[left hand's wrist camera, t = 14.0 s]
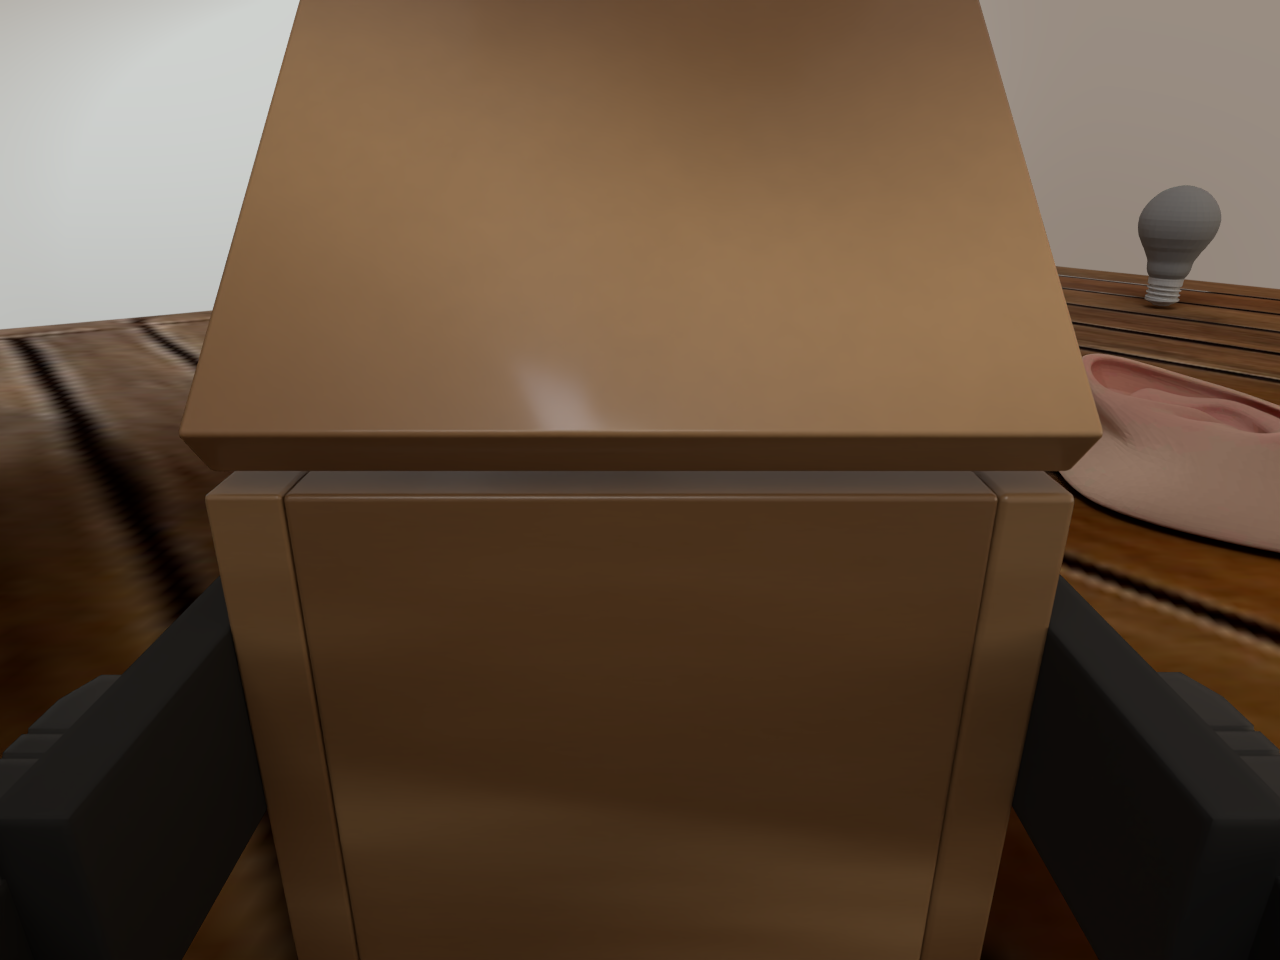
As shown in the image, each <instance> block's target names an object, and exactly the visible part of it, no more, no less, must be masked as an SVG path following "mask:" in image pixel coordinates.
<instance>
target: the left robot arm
mask: <svg viewBox="0 0 1280 960" xmlns="http://www.w3.org/2000/svg"><path fill="white" fill-rule="evenodd" d="M1012 807H1013V808H1014V810H1015V812H1016V814H1017V815H1018V817H1019V819H1020V821H1021V823H1022V824H1023V826H1024V828H1025V830H1026V831H1027V833H1028V835H1029V837H1030V838H1031V840H1032V842H1033V844H1034V846H1035V847H1036V849H1037V851H1038V853H1039V854H1040V856H1041V858H1042V860H1043V861H1044V863H1045V865H1046V867H1047V868H1048V870H1049V872H1050V874H1051V876H1052V877H1053V879H1054V881H1055V883H1056V884H1057V886H1058V888H1059V890H1060V891H1061V893H1062V895H1063V897H1064V899H1065V900H1066V902H1067V904H1068V906H1069V907H1070V909H1071V911H1072V913H1073V914H1074V916H1075V918H1076V920H1077V922H1078V923H1079V925H1080V927H1081V929H1082V930H1083V932H1084V934H1085V936H1086V937H1087V939H1088V941H1089V943H1090V944H1091V946H1092V948H1093V950H1094V952H1095V953H1096V955H1097V957H1098V959H1099V960H1280V753H1279V749H1278V748H1277V747H1276V746H1275V745H1274V744H1273V743H1272V742H1270V741H1269V740H1268V739H1267V738H1266V737H1265V736H1264V735H1263V734H1262V733H1261V732H1260V731H1254V726H1253V725H1252V724H1251V723H1250V722H1249V721H1248V720H1247V719H1246V718H1245V717H1244V716H1243V715H1242V714H1241V713H1240V712H1239V711H1237V710H1236V709H1235V708H1234V707H1233V706H1232V705H1231V704H1230V703H1229V702H1228V701H1227V700H1226V699H1225V698H1224V697H1222V696H1221V695H1219V694H1217V693H1215V692H1214V691H1212V690H1210V689H1208V688H1207V687H1205V686H1203V685H1201V684H1200V683H1198V682H1196V681H1195V680H1193V679H1191V678H1189V677H1188V676H1186V675H1184V674H1182V673H1181V672H1156V671H1155V670H1154V669H1153V668H1152V667H1151V666H1150V665H1149V664H1148V663H1147V662H1146V661H1145V660H1144V659H1143V658H1142V657H1141V656H1140V655H1139V654H1138V653H1137V652H1136V651H1135V650H1134V649H1133V648H1132V647H1131V646H1130V645H1129V644H1128V643H1127V642H1126V641H1125V640H1124V639H1123V638H1122V637H1121V636H1120V635H1119V634H1118V633H1117V632H1116V631H1115V630H1114V629H1113V628H1112V627H1111V626H1110V625H1109V624H1108V623H1107V622H1106V621H1105V620H1104V619H1103V618H1102V617H1101V616H1100V615H1099V614H1098V613H1097V612H1096V611H1095V610H1094V609H1093V607H1092V606H1091V605H1090V604H1089V603H1088V602H1087V601H1086V600H1085V599H1084V598H1083V597H1082V596H1081V595H1080V594H1079V593H1078V592H1077V591H1076V590H1075V589H1074V588H1073V587H1072V586H1071V585H1070V584H1069V583H1068V582H1067V581H1066V580H1065V579H1064V578H1063V577H1062V576H1061V575H1060V574H1059V579H1058V584H1057V589H1056V593H1055V598H1054V603H1053V608H1052V613H1051V618H1050V623H1049V627H1048V632H1047V637H1046V642H1045V647H1044V652H1043V656H1042V661H1041V666H1040V671H1039V676H1038V681H1037V685H1036V690H1035V695H1034V700H1033V705H1032V710H1031V714H1030V719H1029V724H1028V729H1027V734H1026V739H1025V743H1024V748H1023V753H1022V758H1021V763H1020V768H1019V772H1018V777H1017V782H1016V787H1015V792H1014V797H1013V802H1012ZM266 810H267V804H266V799H265V794H264V789H263V784H262V779H261V775H260V770H259V765H258V760H257V755H256V750H255V745H254V740H253V735H252V730H251V725H250V720H249V715H248V710H247V705H246V700H245V696H244V691H243V686H242V681H241V676H240V671H239V666H238V661H237V656H236V651H235V646H234V641H233V636H232V631H231V626H230V622H229V617H228V612H227V607H226V602H225V597H224V592H223V587H222V582H221V577H220V576H219V577H218V578H217V579H216V580H215V581H214V582H213V583H212V584H211V585H210V586H209V587H208V588H207V589H206V590H205V591H204V592H203V593H202V594H201V595H200V596H199V597H198V598H197V599H196V600H195V601H194V602H193V603H192V604H191V605H190V606H189V607H188V608H187V609H186V610H185V611H184V612H183V613H182V614H181V615H180V616H179V617H178V618H177V619H176V620H175V621H174V622H173V623H172V625H171V626H170V627H169V628H168V629H167V630H166V631H165V632H164V633H163V634H162V635H161V636H160V637H159V638H158V639H157V640H156V641H155V642H154V643H153V644H152V645H151V646H150V647H149V648H148V649H147V650H146V651H145V652H144V653H143V654H142V655H141V656H140V657H139V658H138V659H137V660H136V661H135V662H134V663H133V664H132V665H131V666H130V667H129V668H128V669H127V670H126V671H125V672H124V673H123V674H122V675H100V676H99V677H97V678H95V679H94V680H92V681H90V682H88V683H87V684H85V685H83V686H81V687H80V688H78V689H76V690H75V691H73V692H71V693H69V694H68V695H66V696H64V697H62V698H61V699H59V700H58V701H57V702H56V703H55V704H54V705H53V706H52V707H51V708H49V709H48V710H47V711H46V712H45V713H44V714H43V715H42V716H41V717H40V718H39V719H38V720H37V721H36V722H35V723H34V724H33V725H31V726H30V727H29V728H28V734H22V735H21V736H20V737H19V738H18V739H17V740H16V741H15V742H14V743H12V744H11V745H10V746H9V747H8V748H7V749H6V750H5V751H4V752H3V756H2V759H0V960H182V958H183V956H184V955H185V953H186V951H187V949H188V948H189V946H190V944H191V942H192V941H193V939H194V937H195V935H196V933H197V932H198V930H199V928H200V926H201V925H202V923H203V921H204V919H205V918H206V916H207V914H208V912H209V910H210V909H211V907H212V905H213V903H214V902H215V900H216V898H217V896H218V895H219V893H220V891H221V889H222V887H223V886H224V884H225V882H226V880H227V879H228V877H229V875H230V873H231V872H232V870H233V868H234V866H235V865H236V863H237V861H238V859H239V857H240V856H241V854H242V852H243V850H244V849H245V847H246V845H247V843H248V842H249V840H250V838H251V836H252V834H253V833H254V831H255V829H256V827H257V826H258V824H259V822H260V820H261V819H262V817H263V815H264V813H265V811H266Z"/></svg>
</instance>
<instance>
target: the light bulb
mask: <svg viewBox="0 0 1280 960" xmlns="http://www.w3.org/2000/svg"><path fill="white" fill-rule="evenodd" d="M1220 222H1221V212H1220V208H1219V206H1218V204H1217V202H1216V200H1215V199H1214V198H1213V196H1212V195H1211V194H1210V193H1208V192H1207V191H1205V190H1203V189H1201V188H1198V187H1194V186H1178V187H1173V188H1170V189H1167V190H1165V191H1163V192H1161V193H1160V194H1158V195H1157V196H1156V197H1154V198H1153V199H1152V200H1151V201H1150V202H1149V203H1148V204H1147V205H1146V207H1145V208H1144V209H1143V211H1142V213H1141V215H1140V217H1139V223H1138V233H1139V237H1140V240H1141V243H1142V245H1143V247H1144V250H1145V253H1146V256H1147V261H1148V262H1147V272H1148V275H1149V280H1148V283H1149V284H1150V285H1148V286H1147V287H1148V288H1149V289H1148V290H1146V292H1148V294H1146V295H1145V299H1146V300H1147V301H1149V302H1151V303H1152V304H1153V305H1157V306H1168V305H1171V304H1173V303H1176V302H1178V301H1179V299H1178V296H1180V295H1178V293H1179V292H1180V291H1181V290H1179V289H1180V287H1182V285H1183V281H1184V278H1185V277H1186V276H1187V275H1188V274H1189V272H1190V270H1191V267H1192V264H1193V262H1194V261H1195V259H1196V258H1197V257H1198V256H1199V254H1200V253H1201V252H1202V251H1203V250H1204V249H1205V248H1206V247H1207V245H1208V244H1209V243H1210V242H1211V241H1212V240H1213V238H1214V237H1215V235H1216V233H1217V231H1218V229H1219V226H1220Z"/></svg>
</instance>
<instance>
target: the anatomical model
mask: <svg viewBox="0 0 1280 960" xmlns="http://www.w3.org/2000/svg"><path fill="white" fill-rule="evenodd" d="M1082 360H1083V363H1084V367H1085V370H1086V374H1087V377H1088V381H1089V384H1090V387H1091V391H1092V394H1093V398H1094V401H1095V405H1096V408H1097V412H1098V415H1099V419H1100V422H1101V426H1102V429H1103V435H1102V437H1101V439H1100V440H1099V441H1098V442H1097V443H1096V444H1095V445H1094V446H1093V447H1092V448H1091V449H1090V450H1089V451H1088V452H1087V453H1086V454H1085V455H1084V456H1083V457H1082V458H1081V459H1080V460H1079V461H1078V462H1077V463H1076V464H1075V465H1074V466H1073V467H1072V468H1071V469H1070V470H1067V471H1059V472H1060V474H1061V475H1062V476H1063V477H1064V479H1065V480H1066V481H1067V482H1068V483H1069V484H1070V485H1071V486H1072V487H1073V488H1074V489H1075V490H1077V491H1078V492H1079V493H1081V494H1082V495H1083V496H1085V497H1086V498H1088V499H1090V500H1091V501H1093V502H1095V503H1097V504H1099V505H1101V506H1104V507H1106V508H1109V509H1111V510H1114V511H1116V512H1119V513H1122V514H1124V515H1127V516H1130V517H1133V518H1136V519H1140V520H1143V521H1146V522H1149V523H1153V524H1156V525H1159V526H1163V527H1167V528H1171V529H1174V530H1178V531H1182V532H1186V533H1190V534H1194V535H1199V536H1203V537H1207V538H1211V539H1215V540H1220V541H1224V542H1229V543H1233V544H1238V545H1242V546H1247V547H1252V548H1257V549H1262V550H1268V551H1273V552H1279V553H1280V406H1278V405H1276V404H1273V403H1270V402H1267V401H1265V400H1262V399H1259V398H1256V397H1253V396H1250V395H1247V394H1244V393H1241V392H1238V391H1236V390H1232V389H1229V388H1226V387H1223V386H1219V385H1216V384H1212V383H1209V382H1205V381H1202V380H1199V379H1195V378H1192V377H1189V376H1185V375H1182V374H1179V373H1175V372H1172V371H1169V370H1165V369H1162V368H1159V367H1155V366H1152V365H1148V364H1145V363H1141V362H1137V361H1134V360H1130V359H1126V358H1122V357H1117V356H1112V355H1105V354H1089V355H1085V356H1083V357H1082Z"/></svg>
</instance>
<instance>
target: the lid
mask: <svg viewBox="0 0 1280 960" xmlns="http://www.w3.org/2000/svg"><path fill="white" fill-rule="evenodd" d="M1102 435H1103V429H1102V426H1101V422H1100V419H1099V415H1098V412H1097V408H1096V405H1095V401H1094V398H1093V394H1092V391H1091V387H1090V384H1089V381H1088V377H1087V374H1086V370H1085V367H1084V363H1083V360H1082V356H1081V353H1080V349H1079V346H1078V342H1077V339H1076V335H1075V332H1074V329H1073V325H1072V322H1071V318H1070V315H1069V311H1068V308H1067V304H1066V301H1065V297H1064V294H1063V290H1062V287H1061V283H1060V280H1059V277H1058V273H1057V270H1056V266H1055V263H1054V259H1053V256H1052V252H1051V249H1050V245H1049V242H1048V239H1047V235H1046V231H1045V228H1044V225H1043V221H1042V218H1041V214H1040V211H1039V207H1038V204H1037V200H1036V197H1035V193H1034V190H1033V186H1032V183H1031V179H1030V176H1029V173H1028V169H1027V166H1026V162H1025V159H1024V155H1023V152H1022V148H1021V145H1020V142H1019V138H1018V134H1017V131H1016V127H1015V124H1014V121H1013V117H1012V114H1011V110H1010V107H1009V103H1008V100H1007V96H1006V93H1005V89H1004V86H1003V82H1002V79H1001V75H1000V72H999V69H998V65H997V62H996V58H995V55H994V51H993V48H992V44H991V41H990V37H989V34H988V30H987V27H986V24H985V20H984V17H983V13H982V10H981V6H980V3H979V0H300V2H299V5H298V9H297V12H296V16H295V20H294V23H293V27H292V30H291V34H290V37H289V41H288V44H287V48H286V52H285V55H284V59H283V62H282V66H281V69H280V73H279V76H278V80H277V84H276V87H275V91H274V94H273V98H272V101H271V105H270V108H269V112H268V116H267V119H266V123H265V126H264V130H263V133H262V137H261V140H260V144H259V147H258V151H257V155H256V158H255V162H254V165H253V169H252V172H251V176H250V179H249V183H248V186H247V190H246V194H245V197H244V201H243V204H242V208H241V211H240V215H239V218H238V222H237V226H236V229H235V233H234V236H233V240H232V243H231V247H230V250H229V254H228V257H227V261H226V265H225V268H224V272H223V275H222V279H221V282H220V286H219V290H218V293H217V297H216V300H215V304H214V307H213V311H212V314H211V318H210V321H209V325H208V329H207V332H206V336H205V339H204V343H203V346H202V350H201V353H200V357H199V360H198V364H197V368H196V371H195V375H194V378H193V382H192V385H191V389H190V392H189V396H188V400H187V403H186V407H185V410H184V414H183V417H182V421H181V424H180V428H179V436H180V438H181V439H182V440H183V441H184V442H185V443H186V444H187V445H188V446H189V447H190V448H191V449H192V450H193V451H194V452H195V453H196V454H197V455H198V457H199V458H200V459H201V460H202V461H203V462H204V463H205V464H206V465H207V466H208V467H209V468H210V469H212V470H214V471H1067V470H1070V469H1071V468H1072V467H1073V466H1074V465H1075V464H1076V463H1077V462H1078V461H1079V460H1080V459H1081V458H1082V457H1083V456H1084V455H1085V454H1086V453H1087V452H1088V451H1089V450H1090V449H1091V448H1092V447H1093V446H1094V445H1095V444H1096V443H1097V442H1098V441H1099V440H1100V439H1101V437H1102Z"/></svg>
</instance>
